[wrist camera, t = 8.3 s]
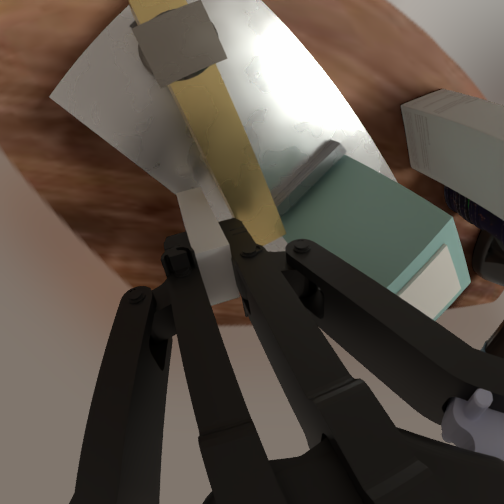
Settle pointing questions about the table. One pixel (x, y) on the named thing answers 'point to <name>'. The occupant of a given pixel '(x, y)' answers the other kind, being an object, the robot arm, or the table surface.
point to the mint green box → (383, 234)
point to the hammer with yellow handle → (206, 105)
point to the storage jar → (475, 213)
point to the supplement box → (459, 144)
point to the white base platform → (243, 97)
